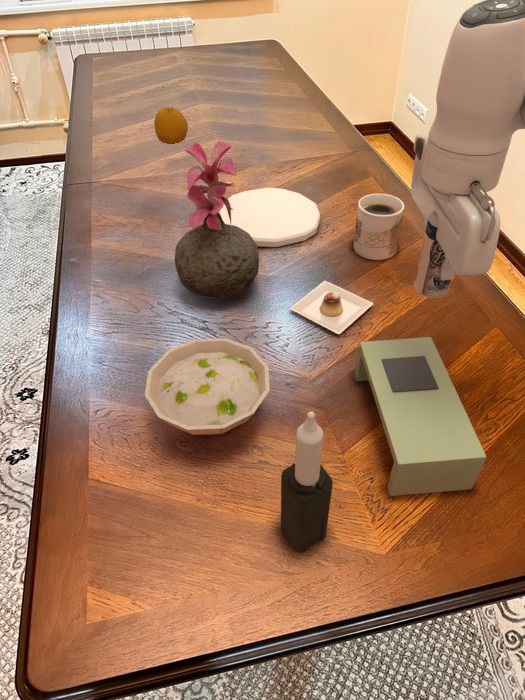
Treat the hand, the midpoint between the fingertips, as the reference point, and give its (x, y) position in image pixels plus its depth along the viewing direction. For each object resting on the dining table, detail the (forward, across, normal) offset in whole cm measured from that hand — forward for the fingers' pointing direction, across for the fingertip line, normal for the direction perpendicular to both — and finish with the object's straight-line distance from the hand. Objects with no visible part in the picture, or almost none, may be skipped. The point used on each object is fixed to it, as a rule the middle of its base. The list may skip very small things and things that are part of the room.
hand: (437, 263), depth 72 cm
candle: (+27, -23, +20) cm, 41 cm away
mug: (+27, +45, -6) cm, 53 cm away
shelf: (+27, -7, +1) cm, 27 cm away
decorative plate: (+27, +59, +18) cm, 67 cm away
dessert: (+27, +23, +8) cm, 36 cm away
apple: (+27, +106, +43) cm, 117 cm away
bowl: (+27, -2, +32) cm, 42 cm away
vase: (+27, +33, +30) cm, 53 cm away
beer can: (+5, 0, 0) cm, 5 cm away
